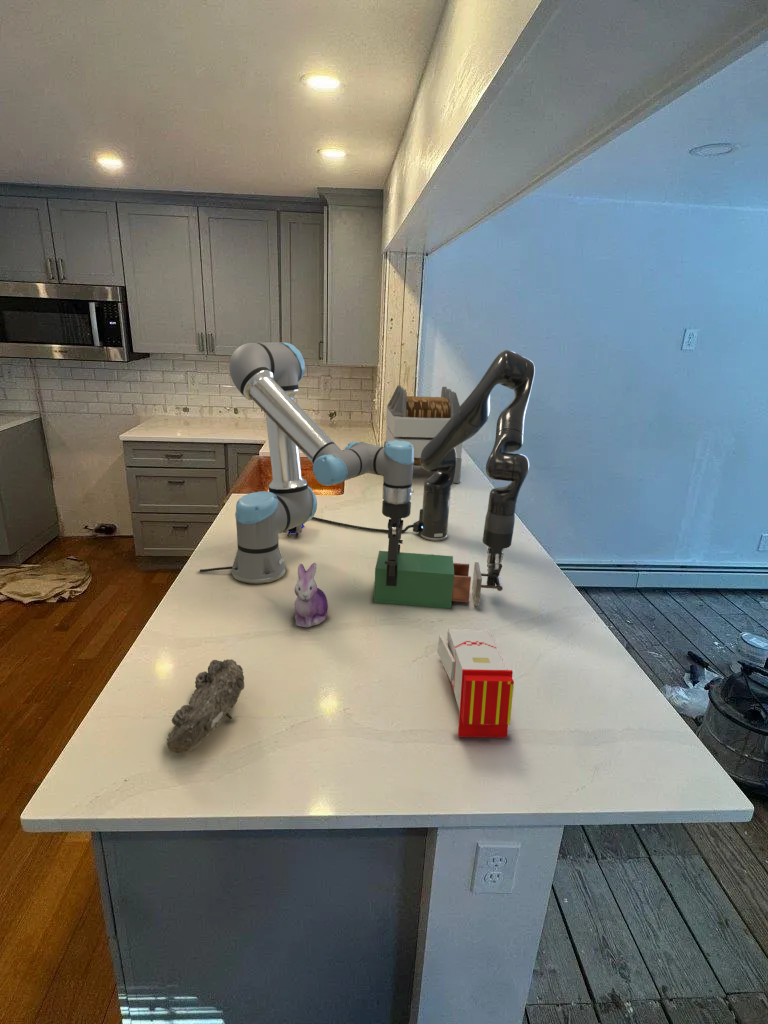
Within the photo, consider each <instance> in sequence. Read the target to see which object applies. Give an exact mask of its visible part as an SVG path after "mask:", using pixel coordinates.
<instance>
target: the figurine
mask: <svg viewBox="0 0 768 1024" xmlns="http://www.w3.org/2000/svg"><path fill="white" fill-rule="evenodd" d="M316 573H317V563H316V562H313V563H311V565H310V566H309V567H308V569H307V570H306V567H305V566H304V565H303V563H300V564H298V566H297V575H298V576H297V578H298V579H297V581H296V583H295V586H294V589H293V590H294V594H295V596H296V598H295V601H294V612H295V615H294V619H295V626H297V627H302V628H311V627H312V626H313V627H314V626H318V625H320V624H322V623H323V622H324V621H325V620H326V619H327V616H328V610H329V604H328V598H327V595H326V594H325V592H324V591H323V590H322V589H321V588H319V587H318V586H317V583H316V581H315V575H316Z"/></svg>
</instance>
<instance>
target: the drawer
mask: <svg viewBox="0 0 768 1024" xmlns="http://www.w3.org/2000/svg"><path fill="white" fill-rule="evenodd" d="M453 564H454V582H453V593H452V602H458V603H459V602H460V603H469V601H470V592H471V593H472V599H473V606H474V607H480V599H481V590H482V589H493V590H494V589H495V590H497V591H498V592H502V591H503V589H504V587H503V583H502V579H501V574H499V576H498V577H497V578H496V585H495V586H491V585H487V584H483V583H482V582H483V578H482V577H488V573H484V572H483V573H482V571H481V567H480V562H479V561H474V566H473V575H472V576H469V573H470V564H469V563H461V562H460V563H459V562H453ZM471 582H472V583H471ZM471 590H472V591H471Z"/></svg>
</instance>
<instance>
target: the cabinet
mask: <svg viewBox="0 0 768 1024" xmlns="http://www.w3.org/2000/svg"><path fill="white" fill-rule="evenodd" d="M387 559H388V550H379V551H378V555H377V558H376V563H375V568H374V586H373V587H374V588H373V603H376V604H388V605H389V604H390V605H401V606H402V605H403V606H412V607H413V606H414V607H425V608H426V607H428V608H440V609H452V602H453V601H452V593H453V582H454V564H453V563H454V556H453V555H442V554H431V553H430V554H429V553H417V552H416V553H415V552H403V551H402V552H401V551H400V552H398V557H397V562H398V567H397V584H396V586H386V578H387V564H385V561H387Z"/></svg>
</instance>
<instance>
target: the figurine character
mask: <svg viewBox="0 0 768 1024" xmlns="http://www.w3.org/2000/svg"><path fill="white" fill-rule="evenodd" d="M304 528H305V524H303V525H300V526H297V527H294V528H292V529H289V530H287V531H284V532H282V533H285V534H287V537H290V535H291V534H292V535H294V534H295V538H298V537H299V534H301V533H302V530H303V529H304Z"/></svg>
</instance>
